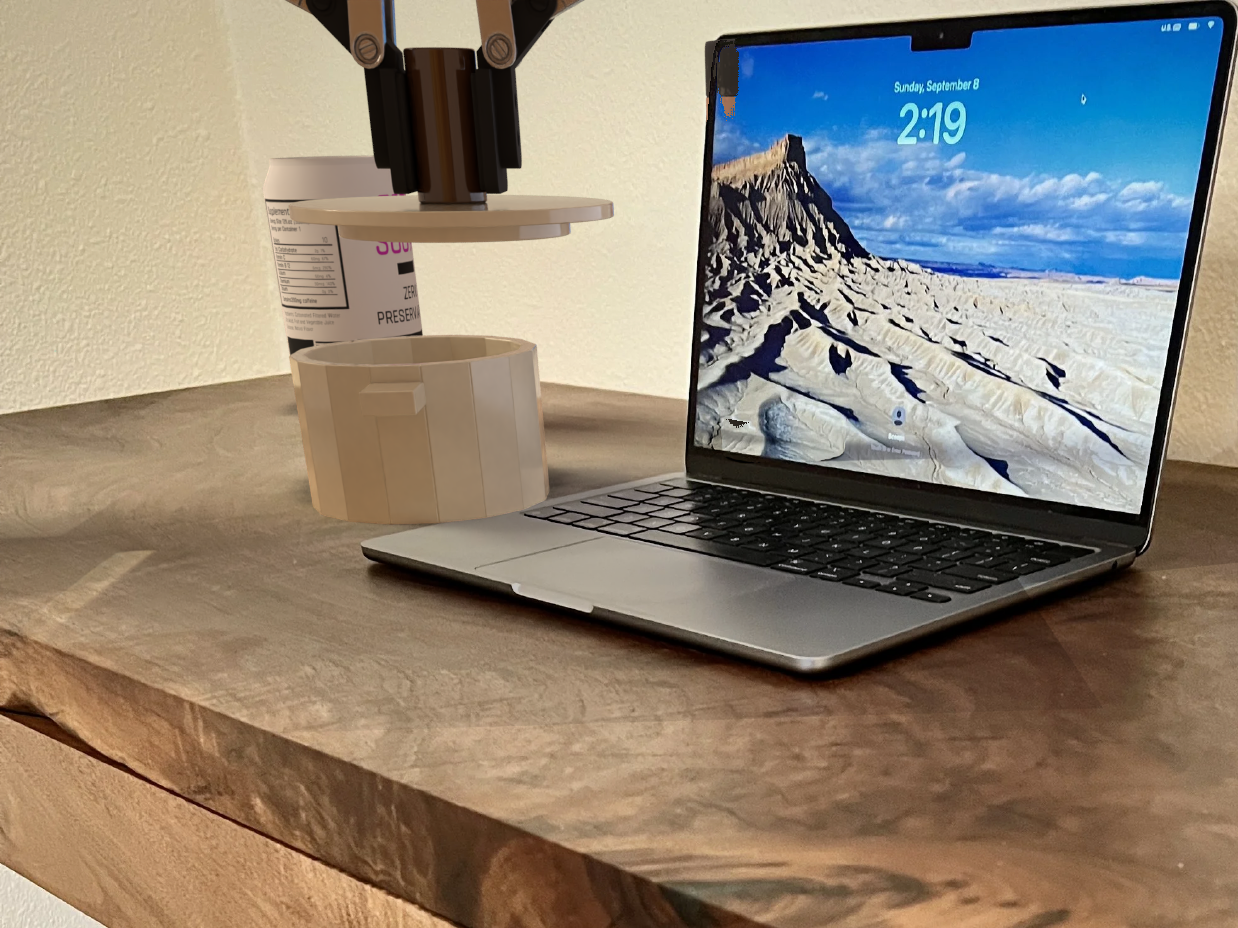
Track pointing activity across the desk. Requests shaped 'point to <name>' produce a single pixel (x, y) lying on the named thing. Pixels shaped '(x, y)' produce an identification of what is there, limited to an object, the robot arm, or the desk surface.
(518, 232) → the lid
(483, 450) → the pot
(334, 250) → the supplement can
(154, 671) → the desk surface
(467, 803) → the desk surface
